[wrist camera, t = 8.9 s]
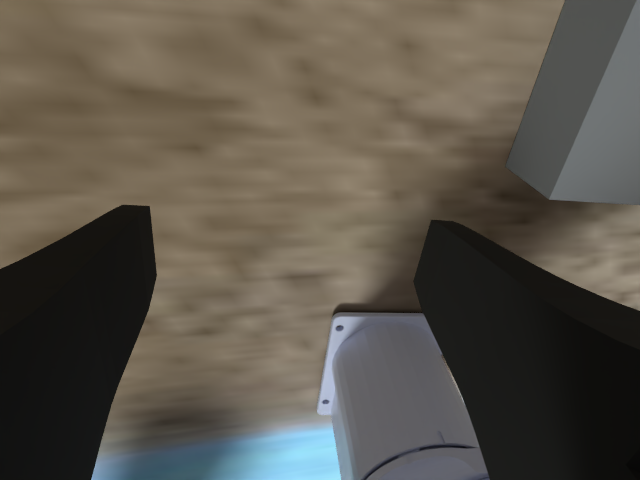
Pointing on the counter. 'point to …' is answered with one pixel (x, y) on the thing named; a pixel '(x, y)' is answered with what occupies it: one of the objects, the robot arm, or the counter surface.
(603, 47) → the socket block
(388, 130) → the counter surface
